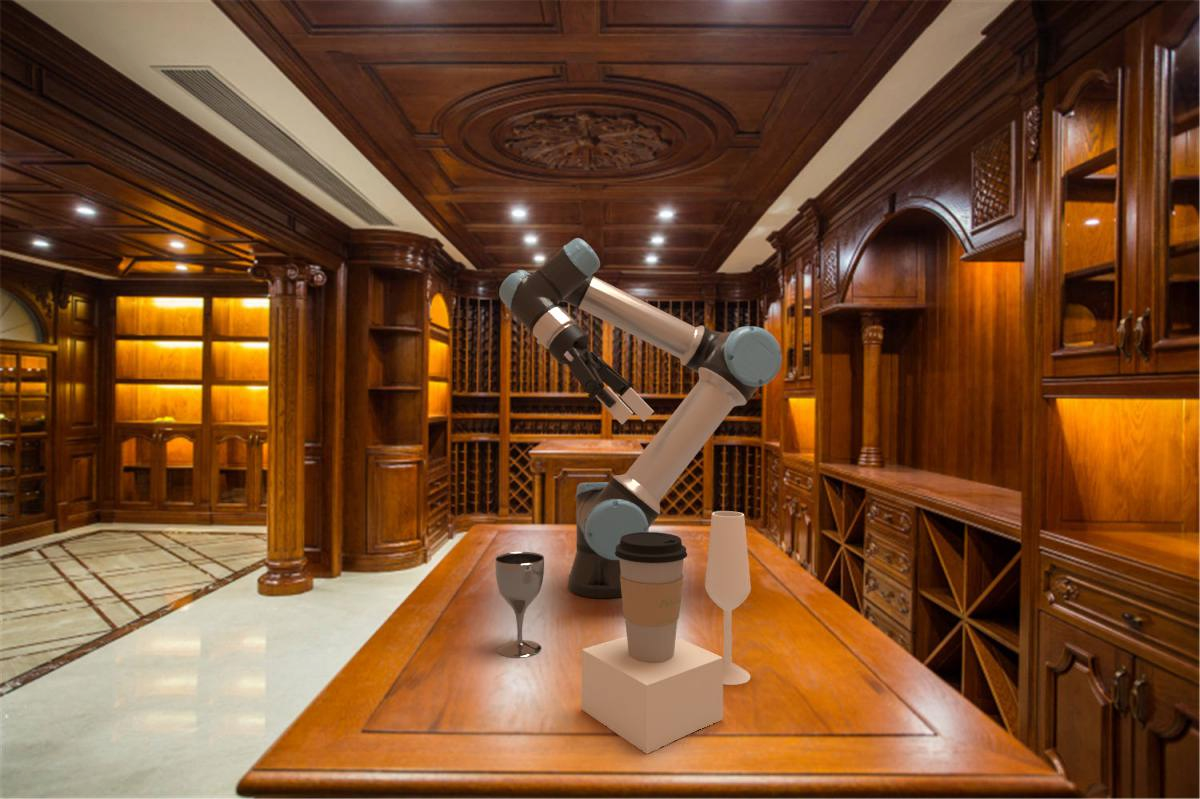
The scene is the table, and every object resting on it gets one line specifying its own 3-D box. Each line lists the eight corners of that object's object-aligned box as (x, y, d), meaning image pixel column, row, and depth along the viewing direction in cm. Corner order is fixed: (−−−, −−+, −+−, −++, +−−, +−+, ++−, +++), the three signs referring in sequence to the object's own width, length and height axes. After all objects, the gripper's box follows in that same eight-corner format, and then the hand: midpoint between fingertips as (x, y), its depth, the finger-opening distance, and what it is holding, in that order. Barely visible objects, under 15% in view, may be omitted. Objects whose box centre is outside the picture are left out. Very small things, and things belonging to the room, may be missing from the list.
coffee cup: (684, 672, 76) (684, 548, 76) (608, 665, 78) (608, 544, 78) (689, 642, 85) (689, 532, 85) (621, 636, 87) (621, 529, 87)
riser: (581, 709, 83) (581, 649, 83) (654, 682, 91) (655, 627, 91) (646, 754, 73) (646, 685, 73) (723, 719, 81) (723, 657, 81)
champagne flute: (741, 689, 89) (742, 520, 89) (697, 677, 93) (697, 515, 93) (756, 671, 95) (757, 512, 95) (714, 661, 98) (715, 508, 98)
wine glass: (551, 643, 106) (551, 554, 106) (531, 661, 98) (531, 566, 98) (509, 637, 108) (509, 550, 108) (486, 654, 101) (486, 561, 101)
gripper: (574, 355, 131) (643, 428, 126) (519, 346, 108) (601, 436, 102) (598, 329, 129) (669, 402, 124) (547, 314, 106) (632, 403, 101)
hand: (638, 417), depth 113 cm, fingers open, 13 cm apart
